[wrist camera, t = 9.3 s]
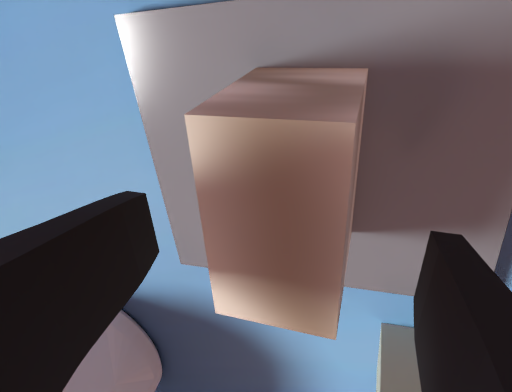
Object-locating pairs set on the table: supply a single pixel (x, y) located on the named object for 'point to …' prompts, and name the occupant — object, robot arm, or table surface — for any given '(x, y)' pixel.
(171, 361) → the table surface
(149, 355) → the mug
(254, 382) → the table surface
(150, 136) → the slate plate
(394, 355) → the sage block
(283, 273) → the tan block
